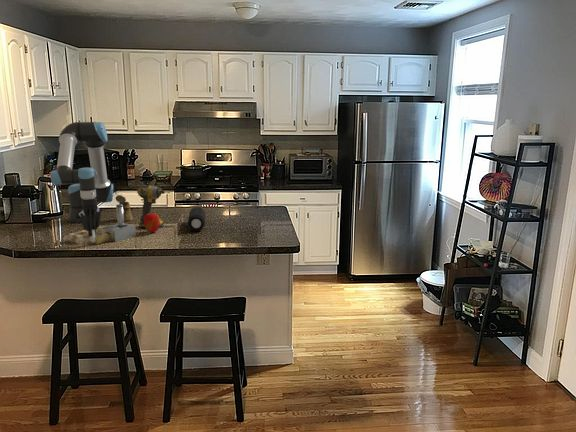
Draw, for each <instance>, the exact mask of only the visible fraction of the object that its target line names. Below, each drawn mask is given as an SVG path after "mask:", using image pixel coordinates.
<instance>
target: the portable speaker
mask: <svg viewBox="0 0 576 432" xmlns="http://www.w3.org/2000/svg"><path fill="white" fill-rule="evenodd" d="M188 213H189V214H188V219H187V226H188V228H189V229H190V230H191V231H192V232H193V231H194V232H199V231H202V230H203V229H204V228H205V226H206V212H205V210H204V208H202V207H199V206H195V207H193V208H191V209H190V211H189V212H188Z"/></svg>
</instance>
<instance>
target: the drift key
mask: <svg viewBox="0 0 576 432" xmlns="http://www.w3.org/2000/svg"><path fill="white" fill-rule="evenodd" d="M95 237H96V242H91V244H93V245H100V244H103V243H106V242H109V241H111V236H110V233H104V234H102V233H101V234H98V235H97V234H96V235H95Z"/></svg>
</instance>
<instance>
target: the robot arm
mask: <svg viewBox="0 0 576 432" xmlns="http://www.w3.org/2000/svg"><path fill="white" fill-rule="evenodd" d="M58 136H59V137H58V142H59V144H60V145H59V149H58V155H57V156H58V157H57V164H56V170H51V172H50V180H51V184H52V185H54V186H55V185H56V186H57V185H58V186H59V185H60V186H63V185H64V186H65V185H69V186H68V189H67V190H68V191H67V193H68V201H69V213H68V217H67V219H68V220H67V221H68V222H69V223H82V226H83V230H85V231H88V235H89V236H90V241H89V242H91V243H92V242H96V237H95V235H96V236H97V230H98V228H100V222H101V215H102V214H101V213H102V211H103V209H102V208H99V207H98V203H99V204H100V203H102V204H103V203H104V204H105V203H111V202H113V200H114V183H111V180H110V179H108V174H107V166H106V165H107V164H106V157H105V151H104V146H106V143H107V142H108V133H107V129H106V125H105V124H104V123H103V122H101V121H84V122H83V121H75V122H71V123H69V124H68V125H66V126H65V127H64V128H63V129H62V130H61V131H60V134H59V135H58ZM78 143H84V146H85V147H86V148H87V151H88V156H89V157H88V158H89V163H90V167H81V168H78V169H73V166H74V157H75V149H76V148H75V147H76V145H77V144H78Z"/></svg>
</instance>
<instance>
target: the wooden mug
mask: <svg viewBox="0 0 576 432" xmlns="http://www.w3.org/2000/svg"><path fill="white" fill-rule="evenodd" d="M115 200H116V202H117V203H119V204H122V205H123V210H124V222H130V221H133V215H132V210H131V204H130V202H128V201H127V199H126V197H125V196H123V195H119V194H118V195H116V196H115ZM119 204H118V205H119Z"/></svg>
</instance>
